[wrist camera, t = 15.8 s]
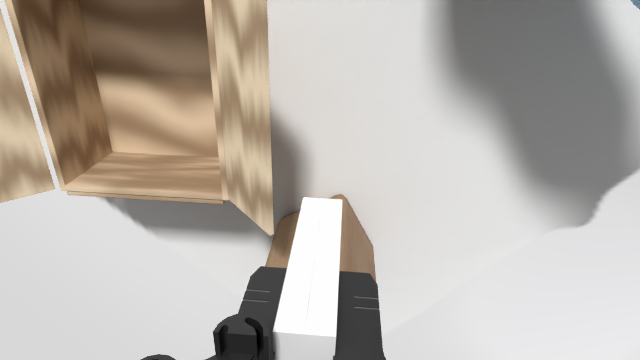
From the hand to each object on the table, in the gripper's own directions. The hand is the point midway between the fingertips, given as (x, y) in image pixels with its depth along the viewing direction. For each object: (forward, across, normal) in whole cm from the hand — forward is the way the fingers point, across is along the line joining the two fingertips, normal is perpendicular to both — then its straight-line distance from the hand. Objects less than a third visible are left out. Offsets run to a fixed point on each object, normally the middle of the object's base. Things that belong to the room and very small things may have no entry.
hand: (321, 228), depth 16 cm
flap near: (+22, -11, -2) cm, 25 cm away
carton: (+32, -20, -2) cm, 38 cm away
